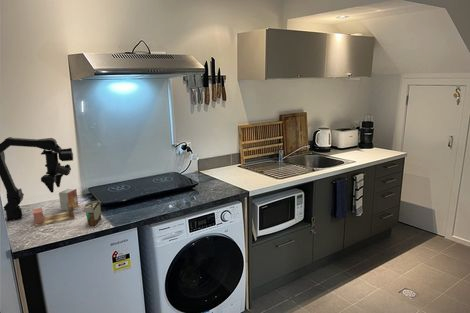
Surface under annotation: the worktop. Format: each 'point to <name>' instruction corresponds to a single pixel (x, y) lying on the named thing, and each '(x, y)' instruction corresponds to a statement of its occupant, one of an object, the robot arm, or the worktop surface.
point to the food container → (93, 212)
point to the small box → (68, 198)
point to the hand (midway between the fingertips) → (55, 189)
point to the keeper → (38, 215)
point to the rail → (58, 216)
